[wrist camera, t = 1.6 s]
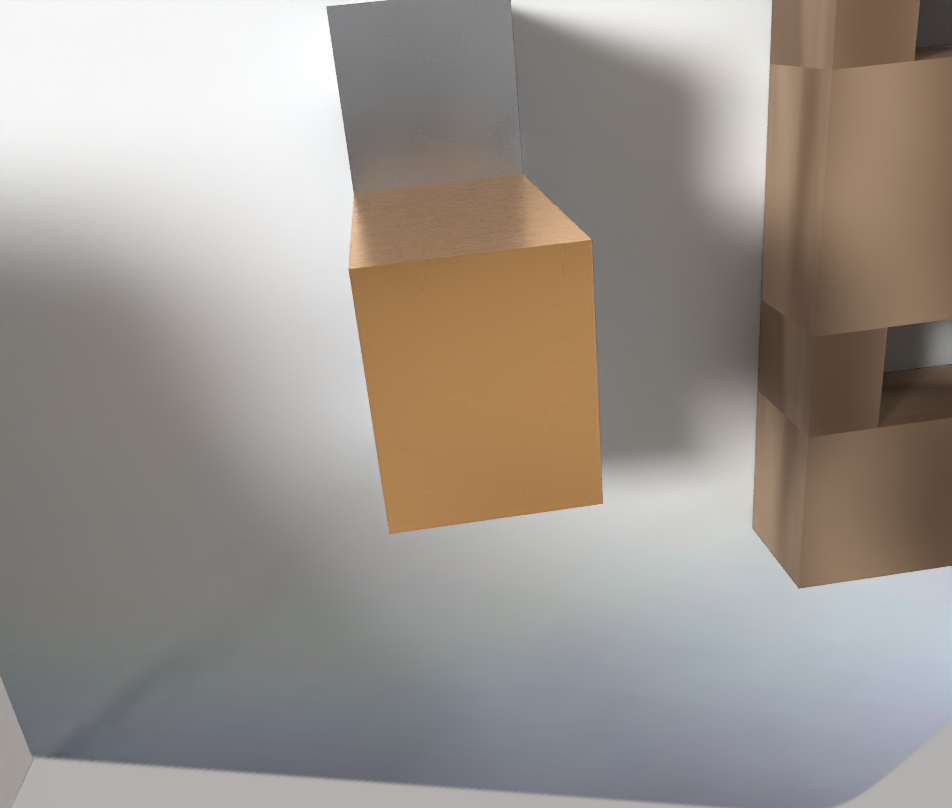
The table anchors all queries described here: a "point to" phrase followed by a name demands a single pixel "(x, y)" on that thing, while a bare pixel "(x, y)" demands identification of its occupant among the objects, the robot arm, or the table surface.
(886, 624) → the table surface
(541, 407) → the clip
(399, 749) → the table surface
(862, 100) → the slotted wooden block
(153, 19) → the table surface
